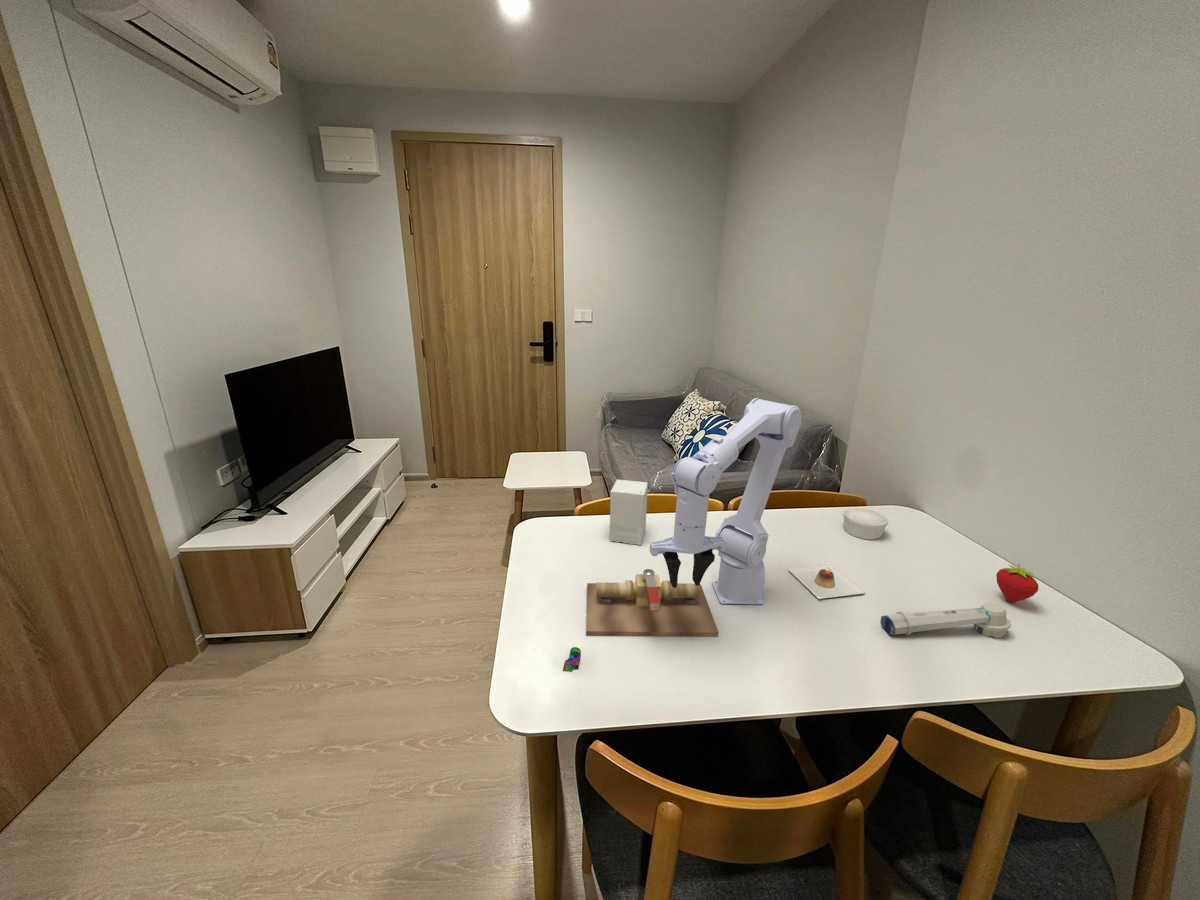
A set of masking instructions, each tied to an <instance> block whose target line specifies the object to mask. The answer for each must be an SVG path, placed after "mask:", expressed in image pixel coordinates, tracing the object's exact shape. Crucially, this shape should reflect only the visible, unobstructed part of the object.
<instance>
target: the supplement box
mask: <svg viewBox="0 0 1200 900" xmlns="http://www.w3.org/2000/svg"><path fill="white" fill-rule="evenodd" d="M648 486H649V484H648V482H647V481H646V482H645V481H635V480H627V479H626V480H625V479H616V480H615V482H614V484H613V486H612V489H611V490H610V493H609V494H610V495H609V496H610V497H609V499H610V503H609V506H610V507H609V509H610V510H609V540H610V541H609V540H608V541H609V542H612V541H615V542H614V543H619V542H623V543H622V544H627V543H628V544H627V545H635V544H636V545H637V546H642V544H643V542H644V541H643V540H644V537H645V534H646V526H647V525H646V524H647V510H648V509H647V508H648V507H647V506H648V505H647V503H648V489H649V488H648Z"/></svg>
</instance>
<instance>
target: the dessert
mask: <svg viewBox="0 0 1200 900" xmlns="http://www.w3.org/2000/svg"><path fill="white" fill-rule="evenodd" d="M787 570H788V571H789V572H790V573H791V574H792V575H793V576H794V577H795V578H796V579H797V580H799V582H801V583H802V585H803V586H805V587H806V589H808V590H809V591H810V593H812V594H813V595H814V596H815V597H816V598H817V599H819V600H822V599H823V600H824V599H828V598H829V599H831V598H838V597H845V596H855V595H862V594H865V592H864V591H863V590H862V589H861V588H859V586H857V585H856V584H855V583H854V582H853V581H852V580H850V579H849V578H847V577H846V576H845V575H844V574H843V573H842V572H840V571H839V570H838V569H836V568H835V567H834V566H833V565H832V564H824V565H823V564H822V565H814V566H813V565H812V566H805V567H796V568H795V567H794V568H788V569H787ZM810 572H811V573H812V572H818V573H817V575H816V576H815V577H814V579H813V581H814V583H815V584H816V585H817V586H819V587H821V588H824V589H833V588H835V587H836V583H835V576H836V577H837V578H839V580H841V581H842V582H843V584H846V585H847V586H848V587H849V588H850V589H851V590H853V591H854V592H849V593H841V594H833V595H831V594H830V595H824V596H819V594H817V593H816V592H815V591H814V590H813V589H812V588H811V586H809V585H808V584H806V582H804V580H803V579H801V577H800V576H798V574H801V573H802V574H803V573H810Z"/></svg>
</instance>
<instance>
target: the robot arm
mask: <svg viewBox="0 0 1200 900" xmlns="http://www.w3.org/2000/svg"><path fill="white" fill-rule="evenodd" d="M801 425H802V412H801V409H800V408H799V406H798V405H794V404H793V405H792V404H791V405H790V404H787V403H786V404H785V403H780V402H775V401H771V400H766V399H762V398H759V397H756V398H753V399H752V400H750V401H749V403H748V404H746V406H745V408H744V412H743V417H742V418H741V419H740V420H739V421H738V422H737V423H736V424H735V425H734V426H733V427H732V429H730V431H729V432H728V433H726V434H725V435H716V436H714V437H713V438H711V440H710V441H709V442H708V443H707V444H705V445H704V446H702V447H701V448H700V450H698V451H697V452H696V453H695V454H694V455H692V456H686V457H683V458H681V459H679V460H678V461H677V462H676V463H675V465H674V467H673V471H672V473H671V481H672V484H673V486H674V493H675V496H676V503H675V505H676V506H675V513H674V527H673V529H674V530H673V536H671V537H668V538H664V539H660V540H657V541H650V542H649V553H650V555H651V556H652V557H657V556H659V555H662V556H663V558H664V561H665V564H666V567H667V571H668V576H669V581H670V583H671V585H672V587H673V588H677V583H678V577H679V572H680V567H681V564H682V562H681V560H680V558H679V555H678V553H679V554H687V555H688V554H689V555H693V566H692V567H693V568H692V579H691V580H692V581H693V584H695V585H696V586H699V585H700V584H701V582H702V581H703V580H702V579H703V577H704V575H705V573H706V572H707V571H708V568H709V567H710V566H711V565H712V564H713V563H714V562H715V558H716V555H715V554H714V552H713V550H717V551H718V552H717V553H718V554H717V556H719V557H720V561H719V570H718V577H717V578H718V579H717V580H713V581H711V585H712V587H713V590H714V592H715V595H716V597H717V600H718V602H719V604H720V605H721V604H722V605H763V604H764V601H763V597H764V596H763V594H764V590H765V589H764V588H765V583H766V566H765V562H764V558H765V555H766V552H767V544H768V540H769V536H770V535H769V533H768V532H767V530H766V529H765V527H764V526H763V524H762V522H761V519H762V516H763V514H764V511H765V508H766V505H767V503H768V501H769V497H770V494H771V491H772V488H773V486H774V482H775V481H776V478H777V475H778V473H779V470H780V467H781V464H782V461H783V458H784V456H785V452H786V450H787V449H788V448H792V447H793V446H794V443H795V441H796V439H797V436H798V433H799V431H800V428H801ZM754 438H755V439H756V440H758V443H759V450H758V452H757V454H756V455H757V456H756V458H755V462H754V463H753V466H752V470H751V473H750V475H749V478H748V480H747V483H746V486H745V489H744V493H743V494H742V497H741V500H740V503H739V506H738V509H737V512H736V513H735V514H733V515H730V516H728V517H725V518H724V519H723V521H722V523H721V525H720V526H719V528H718V529H717V531H716V533H715V534H714V536H706V528H707V518H708V509H709V499H710V494H711V493H712V492H713V491H714V490H715V488H716V486H717V484H718V482H719V480H720V479H721V477H722V473H723V472H724V471H725V470H727V468H729V467H730V466H731V465H732V464H733V463H734V462H735V461H736V460H737V459H738V458H739V454H740V453H739V449H741V448H742V447H744V446H745V445H746V444H748V443H749V442H750V441H752V440H753V439H754Z"/></svg>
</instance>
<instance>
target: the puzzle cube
mask: <svg viewBox="0 0 1200 900" xmlns="http://www.w3.org/2000/svg"><path fill="white" fill-rule="evenodd" d="M581 653H582V651H581V649H580V648H579V647H577V646H573V647H571V648H570V651H569V655H568V658H567V659H565V660H564V663H563V668H562V672H568V673H573V670H579V667H580V660H581V657H582V655H581Z"/></svg>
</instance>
